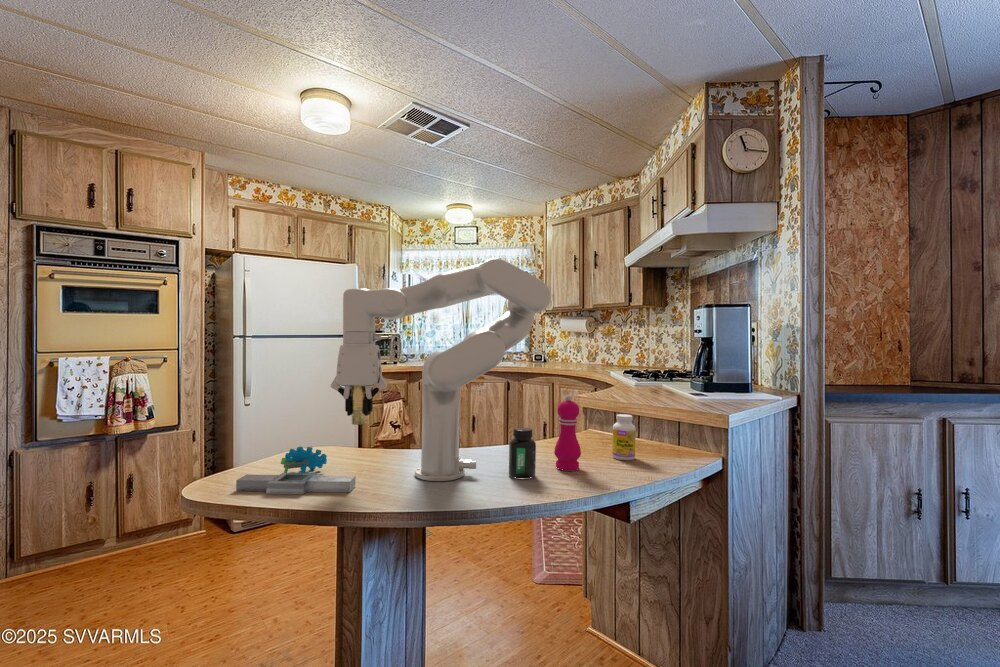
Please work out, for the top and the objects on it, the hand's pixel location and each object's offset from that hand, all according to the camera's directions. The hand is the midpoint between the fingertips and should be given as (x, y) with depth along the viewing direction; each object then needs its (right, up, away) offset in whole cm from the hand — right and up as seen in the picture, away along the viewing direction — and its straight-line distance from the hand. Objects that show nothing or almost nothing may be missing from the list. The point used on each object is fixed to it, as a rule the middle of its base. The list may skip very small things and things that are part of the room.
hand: (359, 414), depth 115 cm
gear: (-15, -16, +4) cm, 22 cm away
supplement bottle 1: (+40, -17, +6) cm, 44 cm away
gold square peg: (0, -2, 0) cm, 2 cm away
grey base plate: (-13, -16, -8) cm, 22 cm away
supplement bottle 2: (+71, -18, +26) cm, 78 cm away
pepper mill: (+53, -17, +14) cm, 57 cm away
